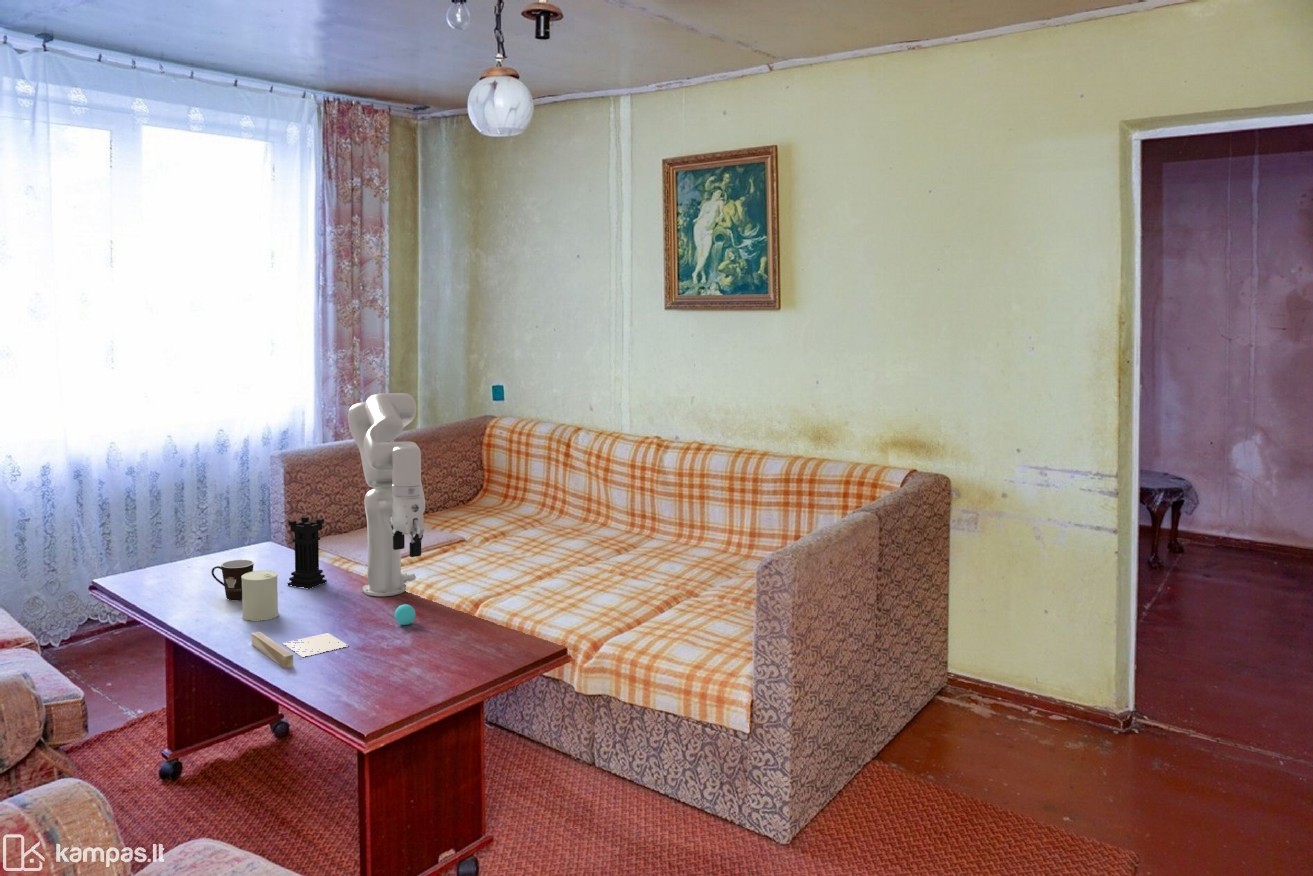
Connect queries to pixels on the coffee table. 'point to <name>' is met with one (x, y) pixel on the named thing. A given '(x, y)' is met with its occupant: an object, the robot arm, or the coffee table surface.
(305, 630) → the coffee table surface
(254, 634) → the rail
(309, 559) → the chess piece
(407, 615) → the ball
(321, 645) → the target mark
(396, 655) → the coffee table surface
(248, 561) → the coffee mug
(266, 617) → the can
